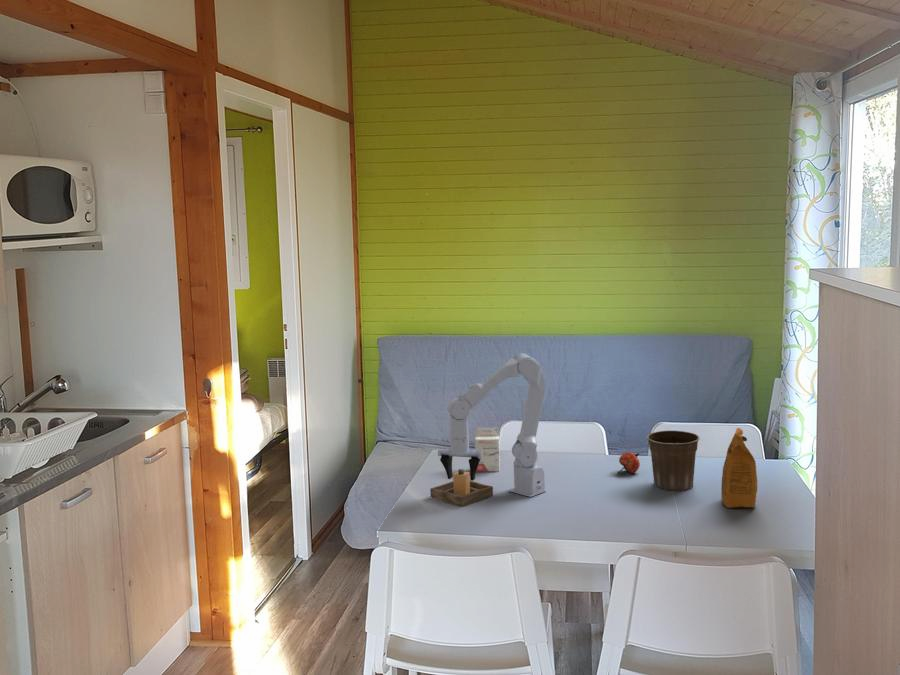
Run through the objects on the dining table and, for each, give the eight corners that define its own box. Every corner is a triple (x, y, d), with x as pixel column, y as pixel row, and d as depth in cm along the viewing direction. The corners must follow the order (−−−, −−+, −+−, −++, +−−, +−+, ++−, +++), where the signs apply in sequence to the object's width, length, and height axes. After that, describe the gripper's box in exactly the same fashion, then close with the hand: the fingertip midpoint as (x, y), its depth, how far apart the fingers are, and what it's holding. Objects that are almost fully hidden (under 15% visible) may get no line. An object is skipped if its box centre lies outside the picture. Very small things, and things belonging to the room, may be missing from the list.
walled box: (493, 495, 270) (492, 486, 270) (461, 506, 260) (461, 497, 260) (461, 487, 280) (461, 478, 280) (430, 497, 270) (430, 488, 270)
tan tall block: (470, 493, 271) (469, 468, 270) (465, 497, 268) (464, 472, 267) (458, 492, 273) (457, 467, 272) (454, 496, 269) (453, 471, 268)
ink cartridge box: (475, 472, 297) (473, 430, 295) (476, 467, 302) (474, 427, 300) (499, 471, 296) (498, 430, 294) (500, 467, 301) (499, 427, 299)
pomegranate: (625, 483, 285) (648, 464, 284) (611, 466, 285) (634, 447, 284) (621, 479, 292) (644, 460, 292) (608, 462, 292) (630, 444, 292)
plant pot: (679, 497, 262) (679, 445, 260) (636, 485, 274) (636, 437, 272) (709, 485, 272) (709, 436, 270) (667, 475, 284) (667, 428, 282)
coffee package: (755, 497, 258) (755, 426, 256) (758, 511, 247) (758, 437, 244) (720, 496, 261) (720, 426, 258) (722, 509, 249) (722, 436, 246)
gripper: (485, 435, 269) (487, 476, 270) (442, 432, 274) (444, 473, 276) (478, 440, 262) (479, 483, 264) (434, 438, 267) (436, 480, 269)
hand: (461, 478), depth 269 cm, fingers open, 7 cm apart
